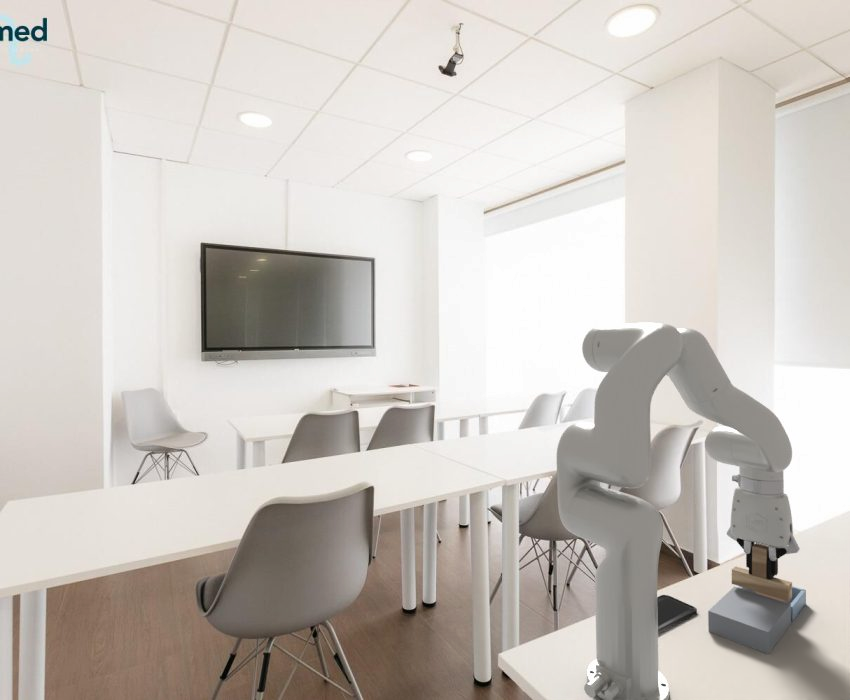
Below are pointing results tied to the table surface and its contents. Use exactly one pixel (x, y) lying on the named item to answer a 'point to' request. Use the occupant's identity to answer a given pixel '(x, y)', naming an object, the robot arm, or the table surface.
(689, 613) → the phone
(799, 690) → the table surface
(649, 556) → the robot arm
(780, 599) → the tile
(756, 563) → the scraper
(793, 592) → the tray
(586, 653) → the table surface
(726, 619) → the gray rectangular block
